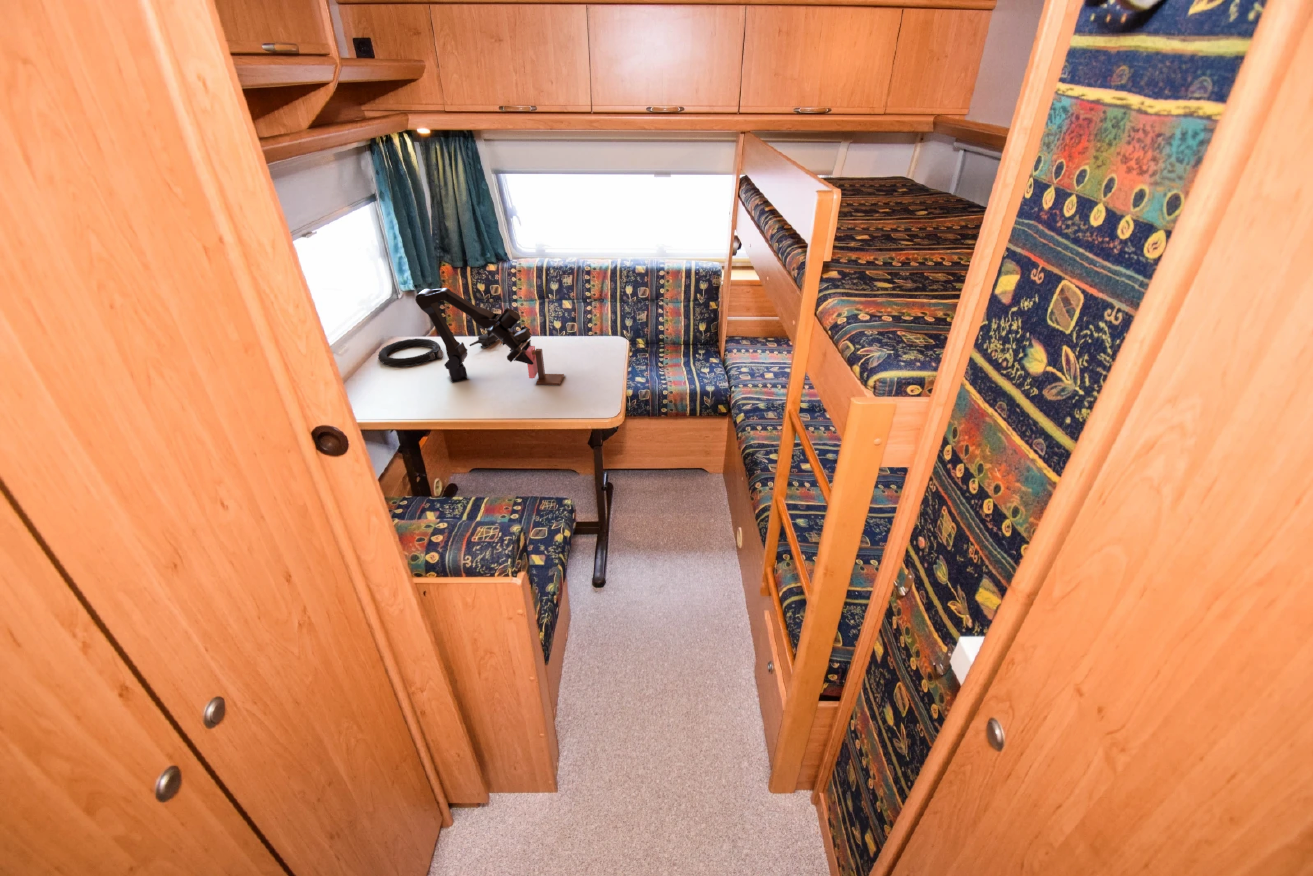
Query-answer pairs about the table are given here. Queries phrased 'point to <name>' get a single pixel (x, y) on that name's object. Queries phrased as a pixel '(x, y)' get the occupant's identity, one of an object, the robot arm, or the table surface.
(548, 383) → the stand
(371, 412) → the table surface
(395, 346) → the ring
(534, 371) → the pink tunnel block
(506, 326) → the robot arm
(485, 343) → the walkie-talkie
